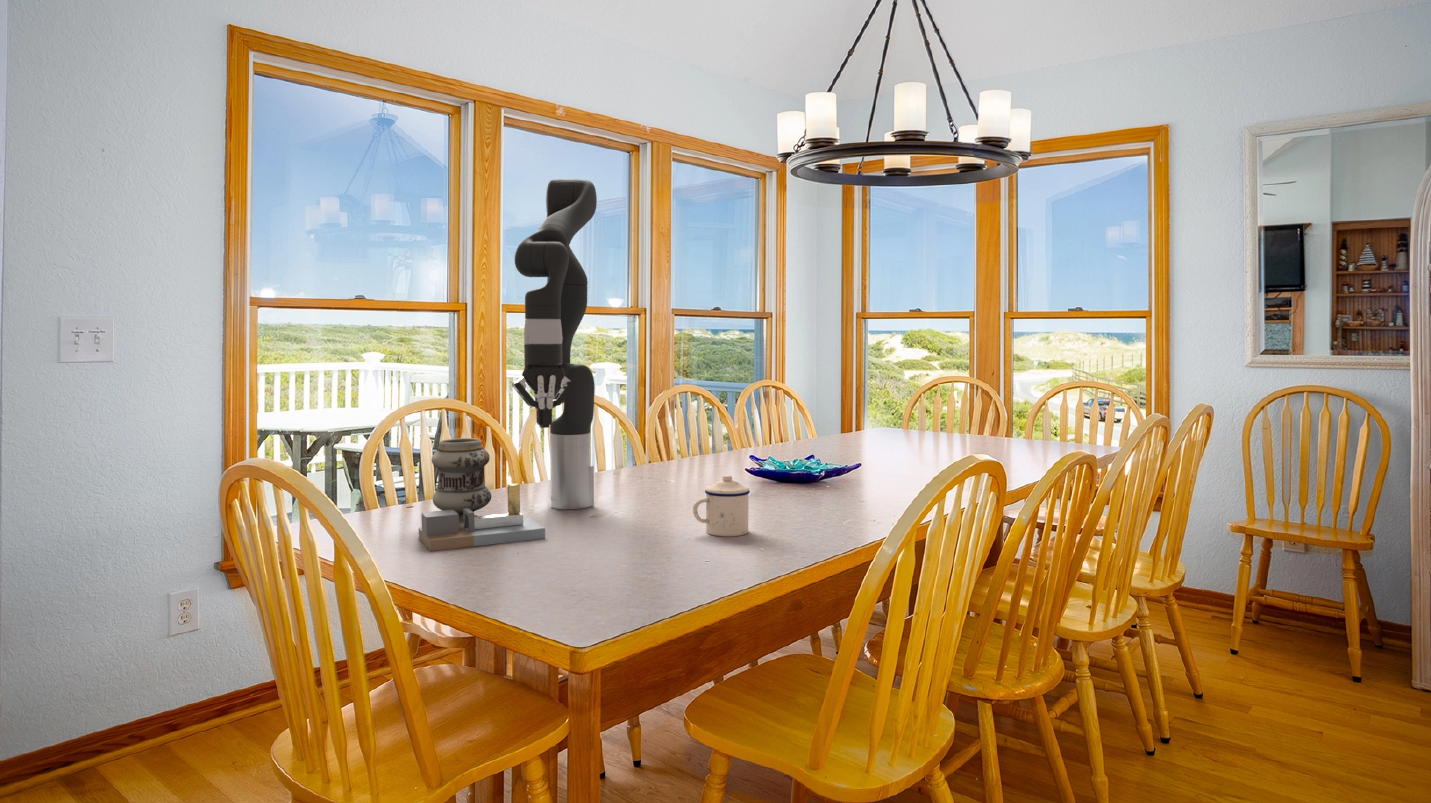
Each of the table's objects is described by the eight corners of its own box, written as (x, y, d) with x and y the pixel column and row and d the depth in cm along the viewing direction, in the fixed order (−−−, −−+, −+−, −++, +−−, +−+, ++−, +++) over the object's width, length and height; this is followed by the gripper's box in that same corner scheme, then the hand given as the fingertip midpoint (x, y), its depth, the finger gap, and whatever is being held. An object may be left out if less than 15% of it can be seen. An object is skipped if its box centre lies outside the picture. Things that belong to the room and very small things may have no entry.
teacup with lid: (737, 525, 188) (738, 470, 187) (757, 534, 180) (757, 477, 179) (684, 530, 184) (684, 474, 183) (702, 540, 175) (702, 481, 174)
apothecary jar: (450, 516, 197) (448, 435, 195) (501, 519, 194) (500, 437, 193) (421, 528, 185) (419, 442, 183) (475, 531, 182) (474, 444, 181)
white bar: (519, 521, 182) (519, 483, 181) (523, 524, 180) (522, 484, 179) (470, 527, 177) (469, 487, 176) (473, 529, 175) (472, 489, 174)
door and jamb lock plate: (527, 526, 187) (527, 499, 187) (545, 538, 177) (544, 509, 176) (418, 537, 177) (418, 509, 177) (430, 550, 167) (429, 520, 166)
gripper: (568, 341, 186) (569, 424, 188) (505, 341, 180) (507, 427, 182) (580, 342, 180) (581, 427, 181) (516, 342, 174) (517, 430, 175)
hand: (544, 427), depth 181 cm, fingers closed
